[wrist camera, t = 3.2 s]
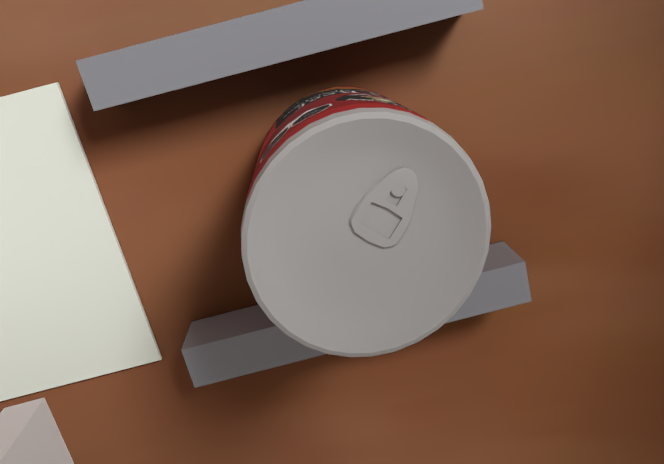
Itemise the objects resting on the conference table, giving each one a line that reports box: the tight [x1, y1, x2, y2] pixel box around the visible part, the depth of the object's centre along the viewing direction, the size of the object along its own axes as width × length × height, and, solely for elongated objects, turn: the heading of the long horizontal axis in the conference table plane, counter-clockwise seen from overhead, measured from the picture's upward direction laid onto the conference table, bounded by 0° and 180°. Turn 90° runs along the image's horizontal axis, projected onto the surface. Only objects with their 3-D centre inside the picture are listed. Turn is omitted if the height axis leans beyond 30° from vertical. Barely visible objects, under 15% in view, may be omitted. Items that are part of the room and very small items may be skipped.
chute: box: [0, 0, 532, 401], centre depth 28 cm, size 15×28×3 cm, turn 104°
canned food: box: [241, 87, 491, 357], centre depth 24 cm, size 8×8×11 cm
